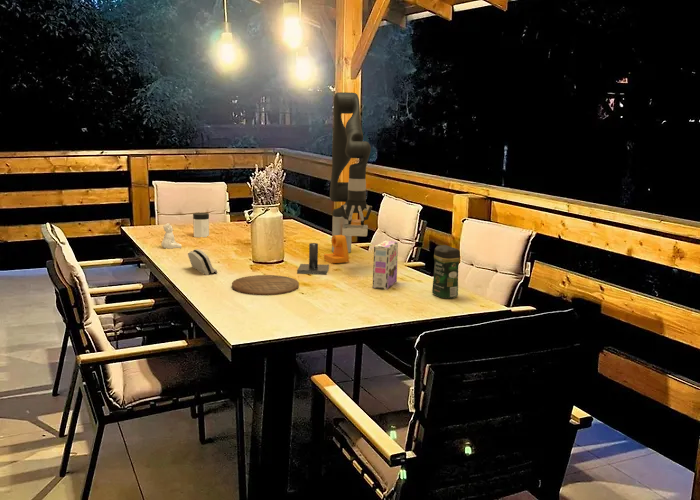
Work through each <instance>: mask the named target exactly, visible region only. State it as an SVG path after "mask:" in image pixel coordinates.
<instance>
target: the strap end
mask: <svg viewBox="0 0 700 500" xmlns="http://www.w3.org/2000/svg"><path fill="white" fill-rule="evenodd" d="M342 236H351V237H367V236H368V224H364V225H361V219H352V221H351V224H344V225H343V228H342Z"/></svg>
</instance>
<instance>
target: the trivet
mask: <svg viewBox="0 0 700 500" xmlns="http://www.w3.org/2000/svg"><path fill="white" fill-rule="evenodd" d="M299 286H300V282H299V281H298V280H297V279H295V278H292V277H289V276H285V275H273V274H262V275H261V274H260V275H257V274H256V275H249V276H243V277H239V278H236V279H235V280H232V283H231V288H232V290H233V291H235V292H237V293H241V294H246V295H250V296H251V295H253V296H275V295H276V296H279V295H285V294H289V293H292V292H295V291H297V290H298V289H299Z"/></svg>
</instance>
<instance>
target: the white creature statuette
mask: <svg viewBox="0 0 700 500" xmlns="http://www.w3.org/2000/svg"><path fill="white" fill-rule="evenodd" d="M163 231H164V232H165V234H164V235H163V236H164V237H163V238H162V241H161V247H162V248H164V249H166V248H167V249H171V250H173V248H180V249H182V244H181V243H179V242H177V241H176V240H175V235H174V232H173V231H174V229H173V226H172V225H171V223H169V222H167V223H165V224H163Z"/></svg>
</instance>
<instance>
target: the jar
mask: <svg viewBox="0 0 700 500" xmlns="http://www.w3.org/2000/svg"><path fill="white" fill-rule="evenodd" d="M209 214H210V213H209V212H194V213H192V219H193V223H192V224H193V226H192V227H193V228H192V229H193V237H194V238H200V237H203V238H208V237H207V236H209V237H210V215H209Z"/></svg>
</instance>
